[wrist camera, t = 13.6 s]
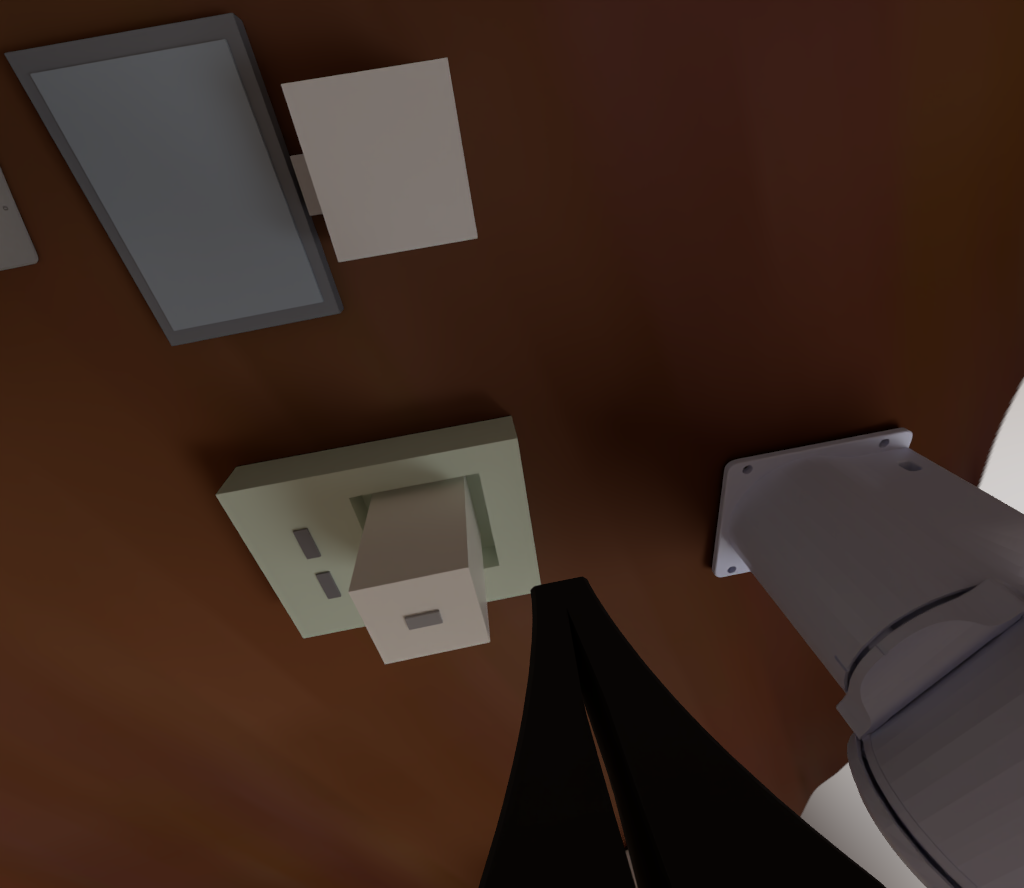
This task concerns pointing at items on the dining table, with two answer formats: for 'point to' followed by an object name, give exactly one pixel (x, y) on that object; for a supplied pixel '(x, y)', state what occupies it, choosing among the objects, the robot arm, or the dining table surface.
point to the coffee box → (13, 233)
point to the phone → (186, 173)
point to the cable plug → (383, 158)
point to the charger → (421, 571)
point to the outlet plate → (344, 507)
